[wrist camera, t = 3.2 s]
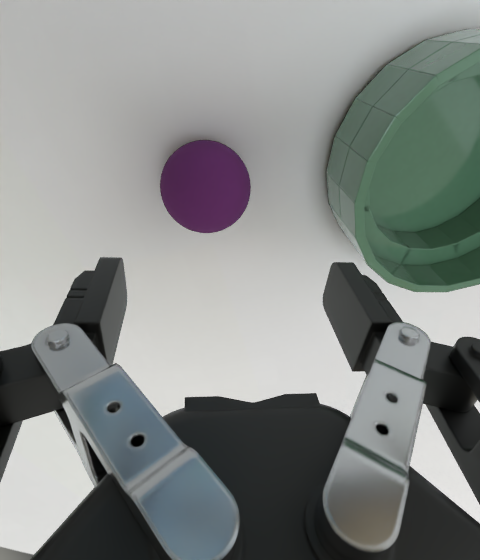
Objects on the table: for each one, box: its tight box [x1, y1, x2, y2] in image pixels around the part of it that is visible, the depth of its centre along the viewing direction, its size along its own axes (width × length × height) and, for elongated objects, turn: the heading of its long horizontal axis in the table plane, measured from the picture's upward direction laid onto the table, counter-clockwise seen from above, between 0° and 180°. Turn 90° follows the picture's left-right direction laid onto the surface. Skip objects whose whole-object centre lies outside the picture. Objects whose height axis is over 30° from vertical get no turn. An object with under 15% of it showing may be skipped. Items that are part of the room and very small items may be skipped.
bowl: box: [327, 29, 480, 292], centre depth 23 cm, size 15×15×6 cm
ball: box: [160, 140, 251, 233], centre depth 22 cm, size 6×6×6 cm
